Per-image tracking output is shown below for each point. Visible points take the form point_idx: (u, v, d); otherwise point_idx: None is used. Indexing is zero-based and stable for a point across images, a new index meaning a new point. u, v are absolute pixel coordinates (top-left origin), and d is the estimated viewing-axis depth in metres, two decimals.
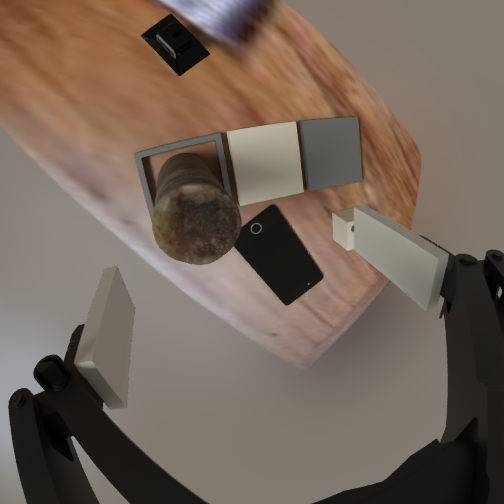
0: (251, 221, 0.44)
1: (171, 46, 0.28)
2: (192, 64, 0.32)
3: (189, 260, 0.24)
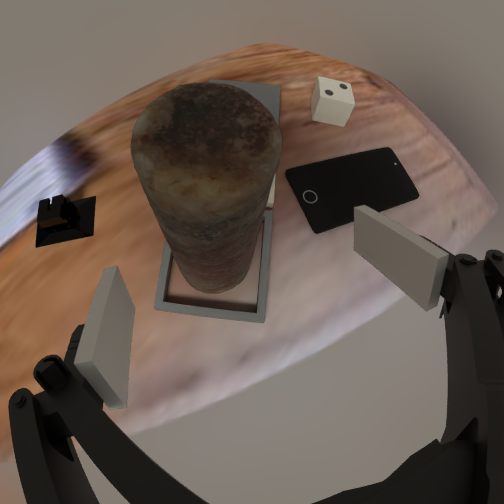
0: (299, 199, 0.33)
1: (54, 216, 0.27)
2: (91, 217, 0.31)
3: (265, 166, 0.12)
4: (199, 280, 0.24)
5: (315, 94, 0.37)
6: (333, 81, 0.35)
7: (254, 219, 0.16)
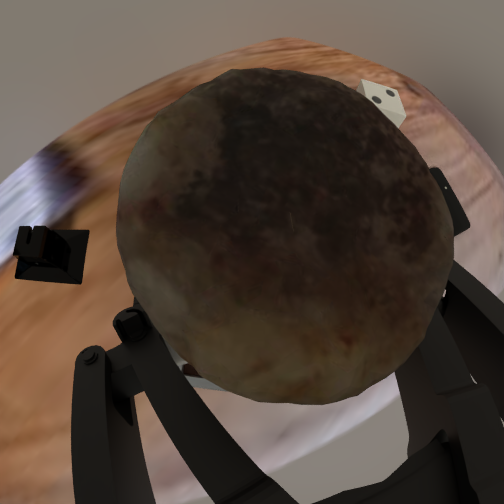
0: None
1: (32, 254, 0.20)
2: (82, 258, 0.24)
3: (435, 287, 0.05)
4: None
5: None
6: (379, 86, 0.28)
7: None
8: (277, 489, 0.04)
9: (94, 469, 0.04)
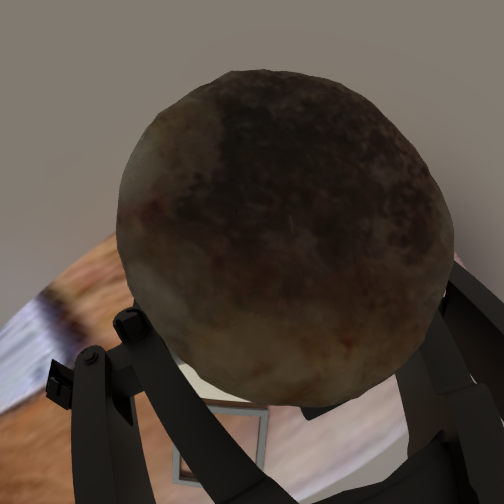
0: None
1: (62, 406, 0.25)
2: None
3: (435, 289, 0.05)
4: None
5: None
6: None
7: None
8: (277, 489, 0.04)
9: (94, 469, 0.04)
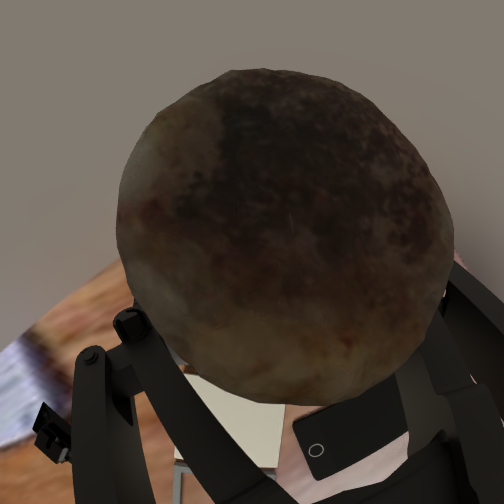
0: (304, 454, 0.26)
1: (51, 459, 0.19)
2: None
3: (435, 288, 0.05)
4: None
5: None
6: None
7: None
8: (277, 489, 0.04)
9: (94, 469, 0.04)
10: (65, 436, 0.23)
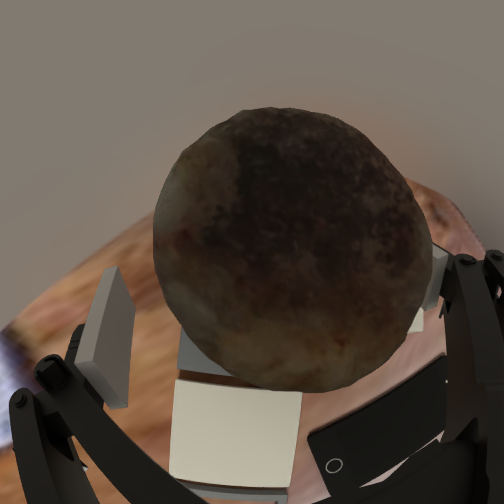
0: (320, 470, 0.21)
1: None
2: None
3: (415, 298, 0.06)
4: None
5: None
6: None
7: None
8: None
9: None
10: None
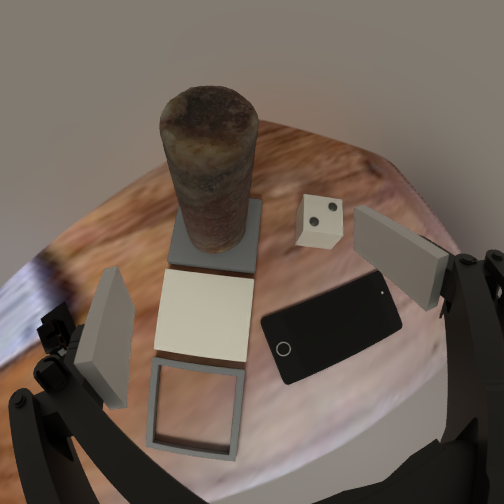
0: (272, 352, 0.33)
1: (44, 348, 0.28)
2: None
3: (247, 137, 0.19)
4: (203, 237, 0.30)
5: (300, 215, 0.37)
6: (322, 199, 0.35)
7: (242, 177, 0.22)
8: None
9: None
10: (67, 337, 0.31)
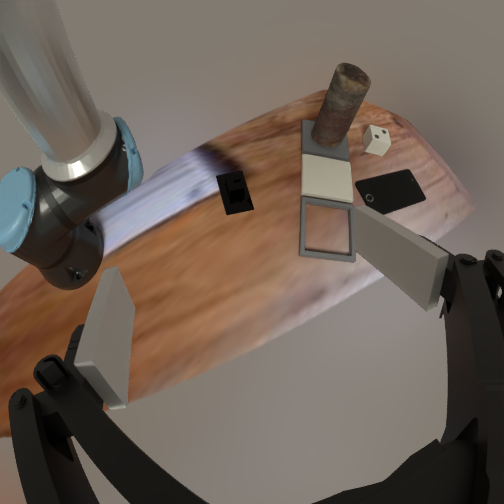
0: (364, 199, 0.58)
1: (229, 187, 0.52)
2: (238, 211, 0.55)
3: (368, 84, 0.43)
4: (331, 132, 0.55)
5: (367, 135, 0.62)
6: (378, 128, 0.60)
7: (362, 100, 0.47)
8: None
9: None
10: None
